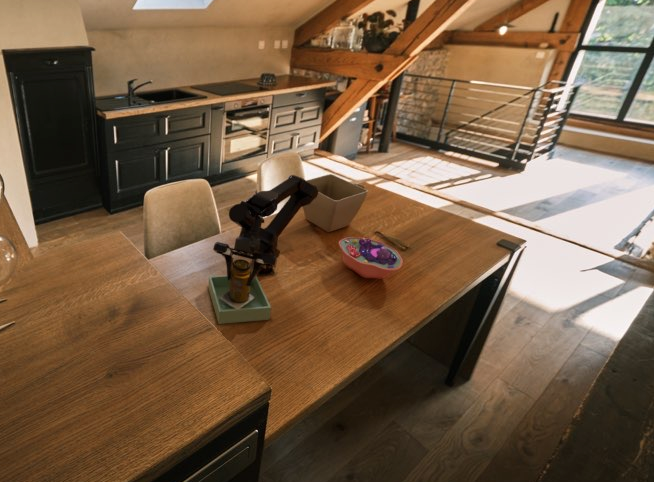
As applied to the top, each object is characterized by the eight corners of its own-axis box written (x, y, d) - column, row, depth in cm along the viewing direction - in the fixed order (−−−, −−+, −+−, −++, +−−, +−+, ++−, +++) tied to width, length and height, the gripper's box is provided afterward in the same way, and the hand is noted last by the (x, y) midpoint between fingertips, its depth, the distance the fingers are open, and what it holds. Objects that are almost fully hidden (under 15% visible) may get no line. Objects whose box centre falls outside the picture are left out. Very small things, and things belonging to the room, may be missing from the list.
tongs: (376, 231, 155) (377, 227, 154) (409, 248, 145) (410, 244, 144) (370, 235, 152) (372, 231, 152) (403, 252, 143) (405, 248, 142)
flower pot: (293, 216, 165) (298, 181, 158) (324, 206, 173) (331, 173, 166) (328, 239, 149) (335, 201, 143) (360, 227, 158) (369, 190, 151)
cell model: (347, 248, 144) (353, 222, 139) (404, 274, 131) (413, 246, 126) (325, 268, 133) (331, 241, 129) (386, 298, 120) (394, 269, 115)
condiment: (255, 297, 117) (257, 264, 113) (237, 310, 111) (239, 276, 107) (236, 286, 122) (238, 254, 118) (218, 298, 116) (220, 264, 112)
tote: (253, 284, 125) (255, 273, 123) (269, 319, 111) (271, 307, 110) (208, 287, 124) (208, 276, 122) (218, 324, 110) (219, 311, 108)
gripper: (216, 219, 114) (202, 271, 109) (279, 233, 107) (268, 289, 103) (222, 228, 124) (210, 276, 119) (281, 241, 117) (270, 292, 112)
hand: (238, 283), depth 113 cm, fingers closed on condiment, 6 cm apart
